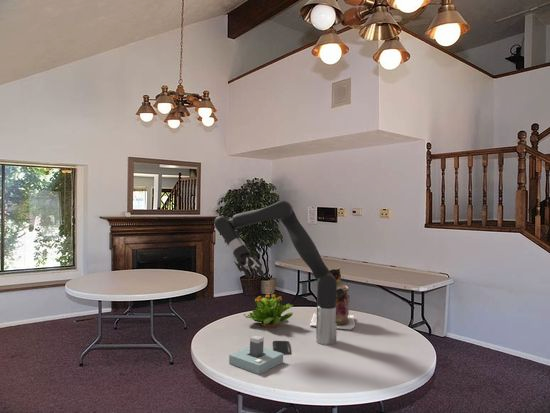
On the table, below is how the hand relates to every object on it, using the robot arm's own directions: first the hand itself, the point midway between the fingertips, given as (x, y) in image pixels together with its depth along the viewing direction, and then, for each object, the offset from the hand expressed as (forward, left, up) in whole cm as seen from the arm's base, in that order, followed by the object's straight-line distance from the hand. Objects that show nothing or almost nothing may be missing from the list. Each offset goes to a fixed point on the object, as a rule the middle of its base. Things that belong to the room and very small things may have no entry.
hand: (256, 275), depth 179 cm
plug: (+1, +20, -32) cm, 38 cm away
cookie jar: (-48, -34, -33) cm, 67 cm away
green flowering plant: (-12, -32, -33) cm, 47 cm away
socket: (+1, +20, -33) cm, 38 cm away
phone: (-12, +4, -33) cm, 36 cm away
